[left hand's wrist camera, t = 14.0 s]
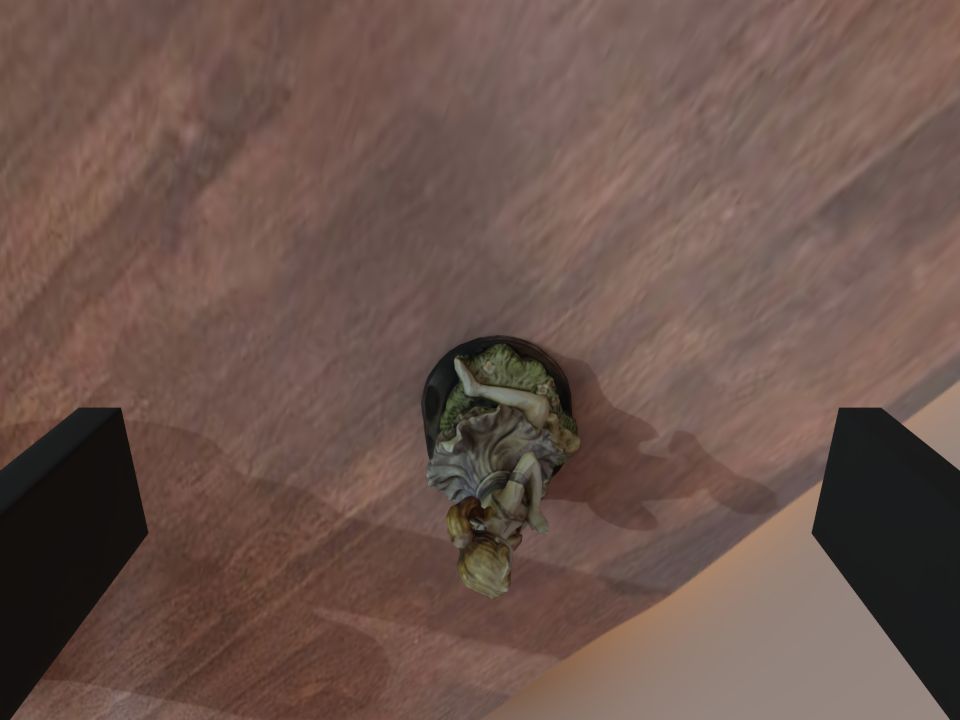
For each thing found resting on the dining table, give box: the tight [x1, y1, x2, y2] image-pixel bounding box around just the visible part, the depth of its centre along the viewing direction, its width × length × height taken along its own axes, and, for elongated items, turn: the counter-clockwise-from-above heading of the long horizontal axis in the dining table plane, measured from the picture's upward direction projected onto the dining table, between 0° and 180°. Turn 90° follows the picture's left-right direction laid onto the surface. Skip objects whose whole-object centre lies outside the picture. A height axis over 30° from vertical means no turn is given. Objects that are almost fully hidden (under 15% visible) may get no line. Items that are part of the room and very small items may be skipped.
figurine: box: [421, 335, 581, 599], centre depth 39 cm, size 12×11×15 cm
